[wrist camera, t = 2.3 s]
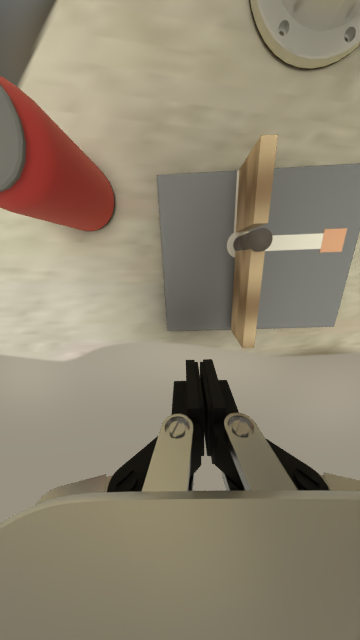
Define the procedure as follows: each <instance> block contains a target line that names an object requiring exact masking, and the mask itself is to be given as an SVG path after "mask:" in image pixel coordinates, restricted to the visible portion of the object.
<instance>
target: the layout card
mask: <svg viewBox="0 0 360 640" xmlns="http://www.w3.org/2000/svg"><path fill="white" fill-rule="evenodd" d="M157 184H158V198H159V213H160V228H161V243H162V258H163V273H164V287H165V302H166V317H167V331H195V330H231V318H232V302H233V285H234V269H235V252H236V251H235V250H234V247H233V243H234V240H235V239H236V238H237V237H239V236H241V235H244V234H246V233H249V232H252V231H254V230H257V229H259V228H267V229H268V230H270V231H271V233H272V237H273V239H272V243H271V245H270V246H269V248H268V249H266V250H265V255H264V264H263V273H262V282H261V291H260V300H259V309H258V318H257V327H256V329H270V328H307V327H334V325H335V321H336V317H337V314H338V310H339V306H340V303H341V299H342V295H343V291H344V288H345V284H346V280H347V276H348V273H349V269H350V265H351V261H352V258H353V254H354V250H355V246H356V243H357V239H358V235H359V231H360V163H359V164H341V165H324V166H306V167H289V168H274V175H273V183H272V192H271V201H270V210H269V219H268V223H267V224H265V225H262V226H260V227H257V228H255V229H252V230H250V231H247V232H236V219H237V202H238V185H239V170H237V171H219V172H202V173H184V174H167V175H157Z"/></svg>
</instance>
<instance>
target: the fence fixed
mask: <svg viewBox="0 0 360 640" xmlns="http://www.w3.org/2000/svg"><path fill="white" fill-rule="evenodd" d="M277 139H278V134H277V135H262V136H261V137H260V138H259V140H258V141H257V143H256V144H255V146H254V148H253V149H252V151H251V152H250V154H249V156H248V157H247V159H246V160H245V162H244V163H243V165H242V167H241V168H240V170H239V185H238V202H237V219H236V232H247V231H250V230H252V229H255V228H257V227H260V226H262V225H265V224H267V223H268V219H269V210H270V201H271V192H272V183H273V175H274V166H275V157H276V148H277Z"/></svg>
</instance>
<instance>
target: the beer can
mask: <svg viewBox="0 0 360 640" xmlns="http://www.w3.org/2000/svg"><path fill="white" fill-rule="evenodd" d="M0 208H3V209H6V210H8V211H11V212H14V213H18V214H22V215H25V216H29V217H33V218H37V219H41V220H45V221H48V222H52V223H56V224H60V225H64V226H68V227H72V228H75V229H79V230H83V231H95V230H98V229H100V228H102V227H103V226H104V225H105V224H107V223H108V221H109V219H110V218H111V216H112V214H113V208H114V194H113V191H112V188H111V185H110V182H109V181H108V179H107V178H106V176H105V175H104V173H103V172H102V171H101V170H100V169H99V168H98V167H97V166H96V165H95V164H94V163H93V162H92V161H91V160H90V159H89V158H88V157H87V156H86V155H85V153H84V152H83V151H82V150H81V149H80V148H79V147H78V146H77V145H76V144H75V143H74V142H73V141H72V140H71V139H70V138H69V137H68V136H67V135H66V134H65V133H64V132H63V131H62V130H61V129H60V128H59V127H58V125H57V124H56V123H55V122H54V121H53V120H52V119H51V118H50V117H49V116H48V115H47V114H46V113H45V112H44V111H43V110H42V109H41V108H40V107H39V106H38V105H37V104H36V103H35V102H34V101H33V100H32V99H31V98H30V97H28V96H27V95H26V94H25V93H24V92H23V91H21V90H20V89H19V88H18V87H16V86H15V85H13V84H12V83H11V82H9V81H8V80H6V79H5V78H2V77H1V76H0Z"/></svg>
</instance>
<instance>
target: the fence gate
mask: <svg viewBox="0 0 360 640" xmlns="http://www.w3.org/2000/svg"><path fill="white" fill-rule="evenodd" d="M272 239H273V237H272V233H271V231H270V230H268V229H267V228H259V229H257V230H254V231H252V232H249V233H246V234H244V235H241V236H239V237H237V238H236V239H235V240H234V243H233V247H234V250H235V251H236V252H235V269H234V285H233V302H232V318H231V331H232V332H233V334H234V335H235V337H236V339H237V340H238V342H239V343H240V345H241V346H242V348H254V344H255V335H256V327H257V318H258V309H259V300H260V291H261V282H262V273H263V264H264V255H265V250H266V249H268V248H269V246H270V245H271V243H272Z"/></svg>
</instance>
